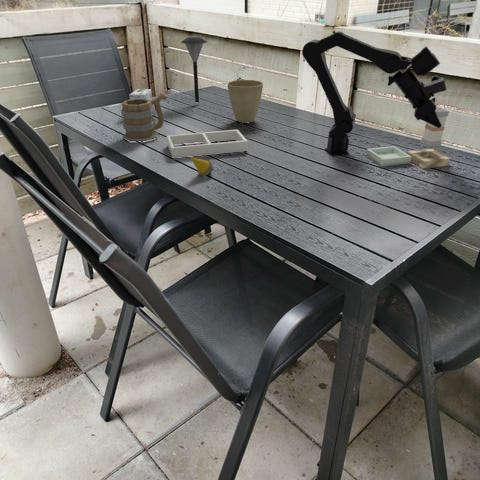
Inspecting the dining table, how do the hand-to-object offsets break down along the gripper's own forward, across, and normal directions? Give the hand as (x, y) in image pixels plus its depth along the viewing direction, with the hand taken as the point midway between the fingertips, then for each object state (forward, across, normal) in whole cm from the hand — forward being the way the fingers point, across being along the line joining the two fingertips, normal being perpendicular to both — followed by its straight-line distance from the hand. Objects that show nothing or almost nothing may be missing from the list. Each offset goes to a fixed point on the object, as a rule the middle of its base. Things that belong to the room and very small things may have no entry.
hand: (439, 124), depth 141 cm
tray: (-1, -2, +19) cm, 19 cm away
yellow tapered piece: (-39, -34, +58) cm, 78 cm away
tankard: (-64, -4, +83) cm, 106 cm away
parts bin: (-45, -11, +64) cm, 79 cm away
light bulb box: (-76, +20, +95) cm, 124 cm away
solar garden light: (-65, +46, +84) cm, 116 cm away
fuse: (+4, 0, +6) cm, 7 cm away
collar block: (+8, 0, +10) cm, 13 cm away
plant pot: (-44, +27, +62) cm, 80 cm away
